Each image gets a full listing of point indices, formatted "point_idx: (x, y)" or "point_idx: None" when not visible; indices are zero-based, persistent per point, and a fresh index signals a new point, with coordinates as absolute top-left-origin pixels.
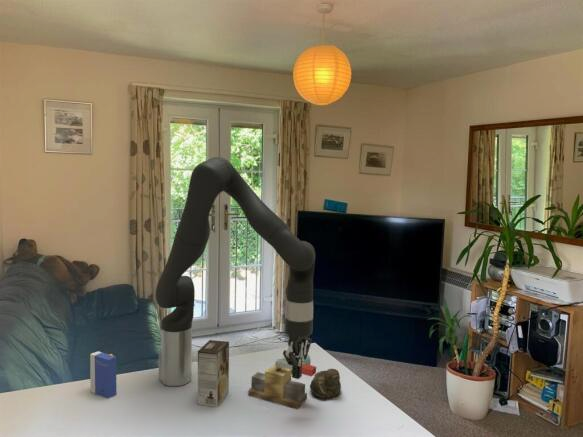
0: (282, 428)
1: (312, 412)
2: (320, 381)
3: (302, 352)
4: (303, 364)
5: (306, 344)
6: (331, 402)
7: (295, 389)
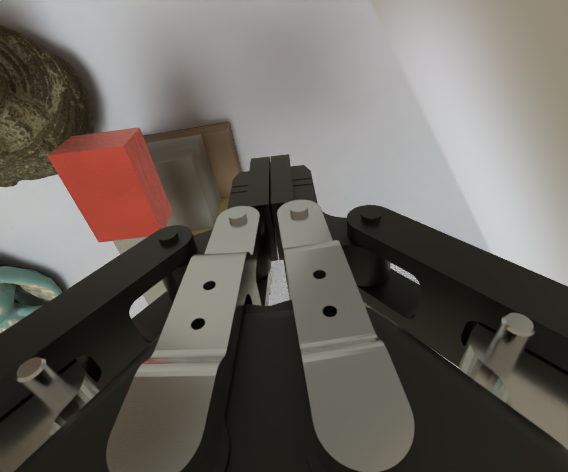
0: (384, 85)
1: (202, 48)
2: (29, 124)
3: (292, 288)
4: (110, 235)
5: (175, 375)
6: (55, 17)
7: (200, 176)
